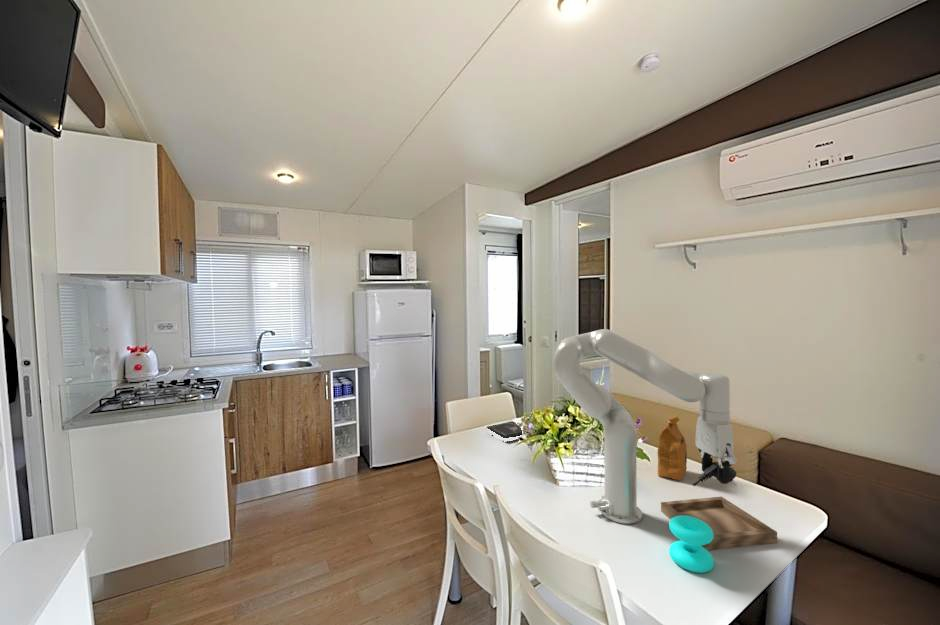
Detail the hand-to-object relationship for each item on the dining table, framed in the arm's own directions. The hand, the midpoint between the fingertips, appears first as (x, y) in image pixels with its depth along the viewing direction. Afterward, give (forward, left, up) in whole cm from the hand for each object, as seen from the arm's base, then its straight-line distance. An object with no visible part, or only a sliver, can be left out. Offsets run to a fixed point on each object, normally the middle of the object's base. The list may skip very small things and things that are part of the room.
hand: (715, 474), depth 113 cm
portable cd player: (-42, +88, -16) cm, 99 cm away
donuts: (-18, -13, -16) cm, 27 cm away
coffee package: (+10, +33, -16) cm, 38 cm away
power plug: (0, +1, -4) cm, 4 cm away
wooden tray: (0, 0, -15) cm, 15 cm away
